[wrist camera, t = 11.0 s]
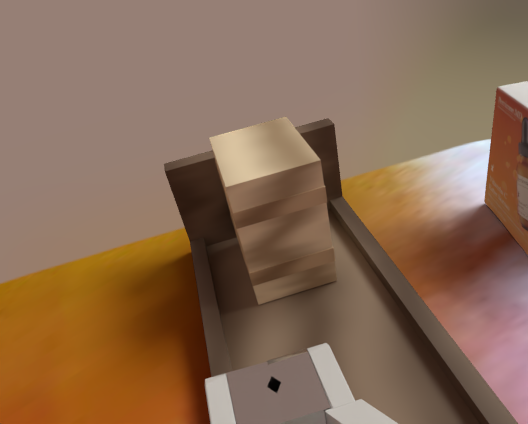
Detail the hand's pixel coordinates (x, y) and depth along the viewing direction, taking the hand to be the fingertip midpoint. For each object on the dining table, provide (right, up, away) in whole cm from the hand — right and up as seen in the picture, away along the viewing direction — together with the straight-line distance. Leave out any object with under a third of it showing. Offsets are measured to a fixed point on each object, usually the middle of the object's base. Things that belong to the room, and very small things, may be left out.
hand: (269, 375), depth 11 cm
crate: (+1, 0, +25) cm, 25 cm away
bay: (+3, -4, +21) cm, 22 cm away
